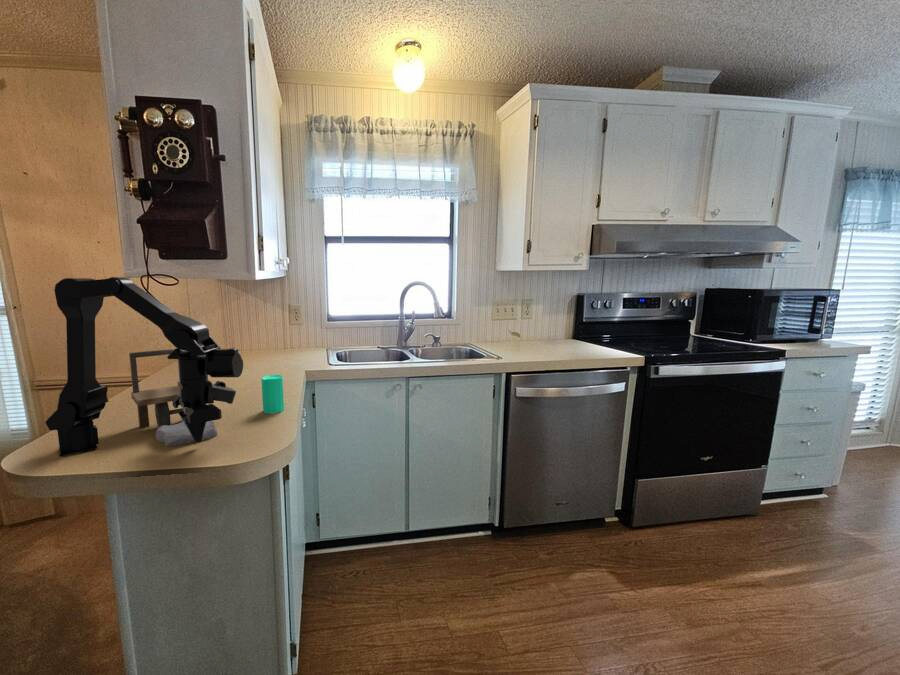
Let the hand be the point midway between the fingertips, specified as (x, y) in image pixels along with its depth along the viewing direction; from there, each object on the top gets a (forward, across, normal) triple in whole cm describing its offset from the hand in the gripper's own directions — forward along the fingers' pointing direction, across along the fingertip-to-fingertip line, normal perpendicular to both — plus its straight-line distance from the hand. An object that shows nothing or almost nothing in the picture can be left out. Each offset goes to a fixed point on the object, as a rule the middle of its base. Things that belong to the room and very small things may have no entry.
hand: (198, 441), depth 101 cm
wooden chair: (+2, +23, 0) cm, 23 cm away
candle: (+2, +17, -24) cm, 30 cm away
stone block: (+2, +9, 0) cm, 9 cm away
